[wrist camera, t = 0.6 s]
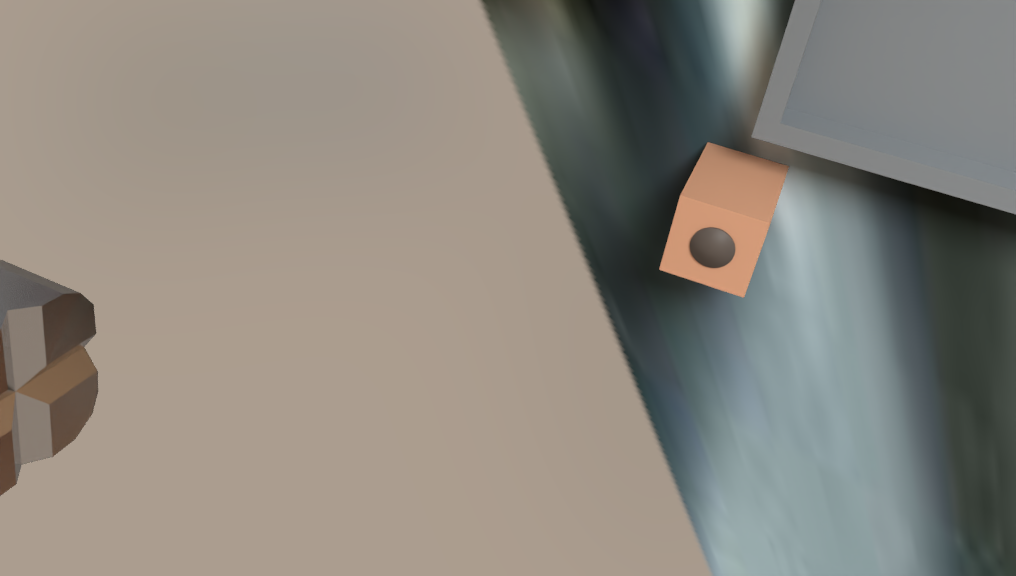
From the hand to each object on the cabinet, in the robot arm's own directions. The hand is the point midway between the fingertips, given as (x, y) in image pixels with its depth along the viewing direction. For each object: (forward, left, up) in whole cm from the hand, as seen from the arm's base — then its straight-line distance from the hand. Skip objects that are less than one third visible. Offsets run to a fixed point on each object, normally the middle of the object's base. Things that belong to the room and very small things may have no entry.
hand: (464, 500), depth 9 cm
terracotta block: (+15, 0, -38) cm, 41 cm away
